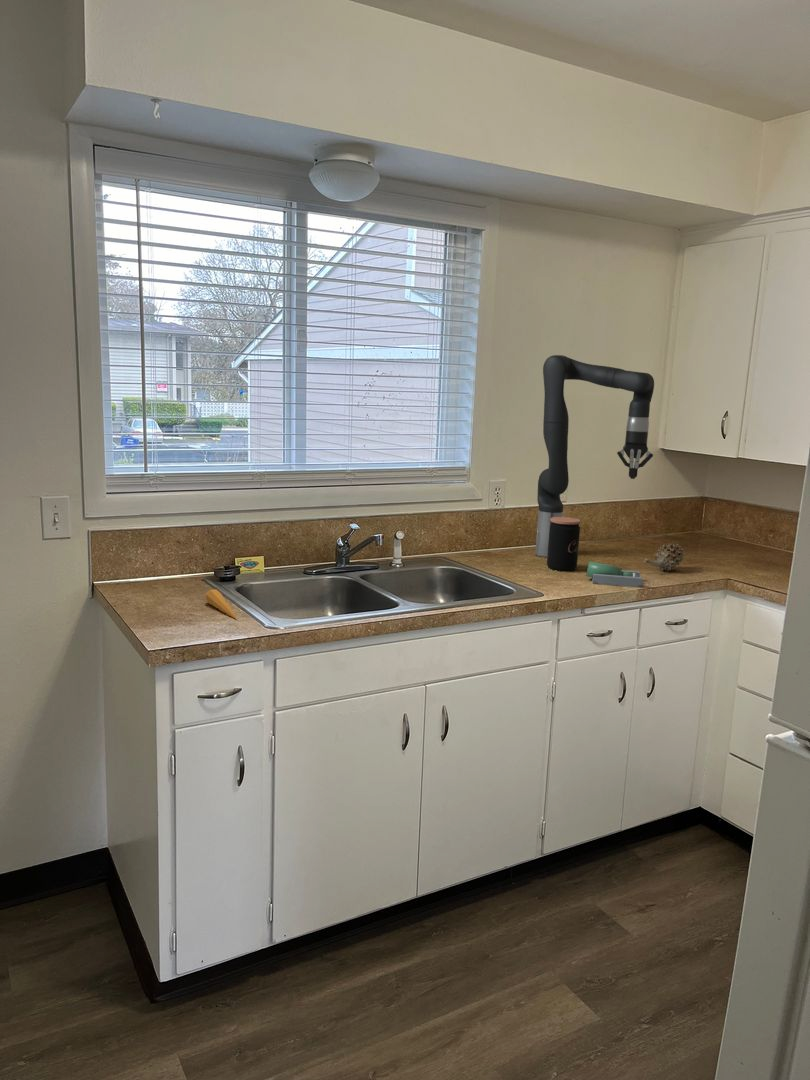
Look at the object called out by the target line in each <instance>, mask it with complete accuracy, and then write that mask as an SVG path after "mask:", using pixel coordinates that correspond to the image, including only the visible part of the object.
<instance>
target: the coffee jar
mask: <svg viewBox="0 0 810 1080" xmlns="http://www.w3.org/2000/svg"><path fill="white" fill-rule="evenodd" d="M550 521H551V524H550V529H549V542H548V555H547V557H546V565H547V568H548V569H549V568H550V569H549V570H551V569H552V570H551V571H555V570H557V571H556V572H562V571H570V572H573V570H574V571H576V569H577V568H578V567H577V566H578V558H579V557H578V556H579V547H580V536H581V535H580V533H581V527H580V524H581V519H579V518H575V517H569V516H563V517H552V518H550Z"/></svg>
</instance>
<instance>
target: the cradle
mask: <svg viewBox="0 0 810 1080" xmlns="http://www.w3.org/2000/svg"><path fill="white" fill-rule="evenodd" d="M621 570H622V572H628V573H636V576H635V577H630V576H617V575H604V574H593V577H592V578H591V581H593V582H592V584H593V583H598V584H597V585H603V584H606V585H605V586H615V585H618V586H617V587H630V588H641V589H642V588H643V584H644V583H643V582H644V579H643V577H641V572H640V571H638V570H625V569H621Z"/></svg>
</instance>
